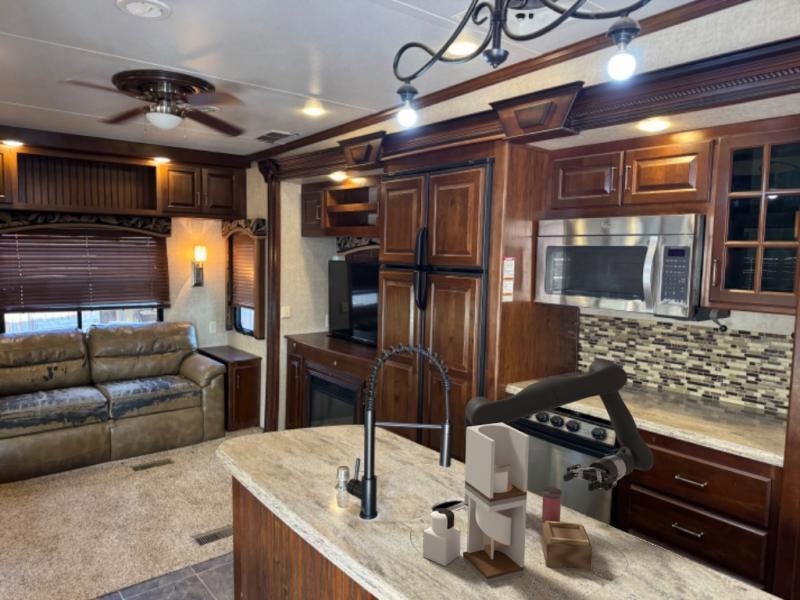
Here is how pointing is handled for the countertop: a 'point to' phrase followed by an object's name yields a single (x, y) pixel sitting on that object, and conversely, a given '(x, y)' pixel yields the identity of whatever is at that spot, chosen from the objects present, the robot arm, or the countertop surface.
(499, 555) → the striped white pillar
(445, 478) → the countertop surface
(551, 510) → the red lidded canister
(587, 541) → the wooden box
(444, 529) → the medicine bottle
